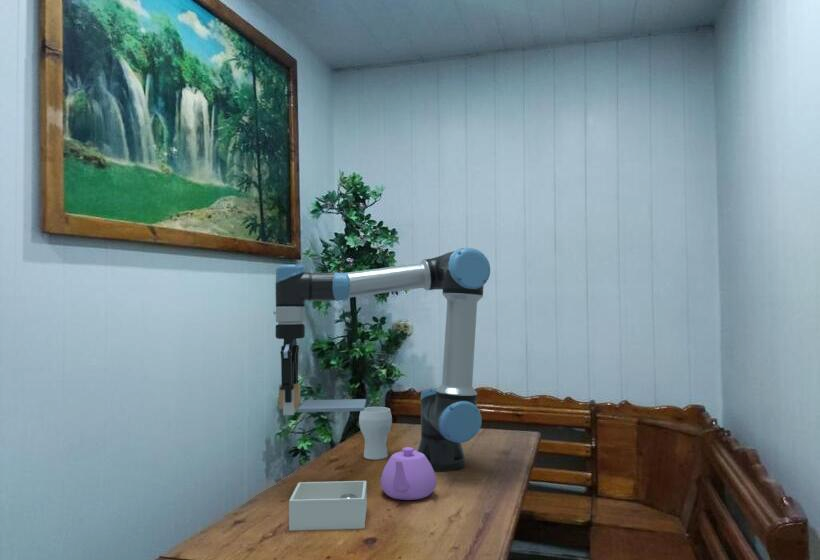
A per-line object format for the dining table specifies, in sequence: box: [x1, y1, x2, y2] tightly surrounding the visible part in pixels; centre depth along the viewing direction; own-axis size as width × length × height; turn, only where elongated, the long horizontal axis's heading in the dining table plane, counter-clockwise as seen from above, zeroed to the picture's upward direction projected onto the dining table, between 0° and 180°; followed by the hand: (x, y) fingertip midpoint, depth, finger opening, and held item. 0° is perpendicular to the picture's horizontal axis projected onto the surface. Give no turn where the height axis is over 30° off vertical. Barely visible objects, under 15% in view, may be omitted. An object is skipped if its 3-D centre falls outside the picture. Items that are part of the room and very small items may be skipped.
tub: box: [288, 480, 368, 532], centre depth 120 cm, size 16×12×7 cm
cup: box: [358, 406, 393, 460], centre depth 173 cm, size 11×11×15 cm
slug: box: [340, 494, 356, 498], centre depth 123 cm, size 4×4×4 cm
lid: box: [278, 383, 367, 413], centre depth 140 cm, size 22×13×6 cm, turn 92°
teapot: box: [380, 446, 437, 501], centre depth 135 cm, size 20×14×12 cm
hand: (290, 413), depth 140 cm, fingers closed on lid, 3 cm apart
